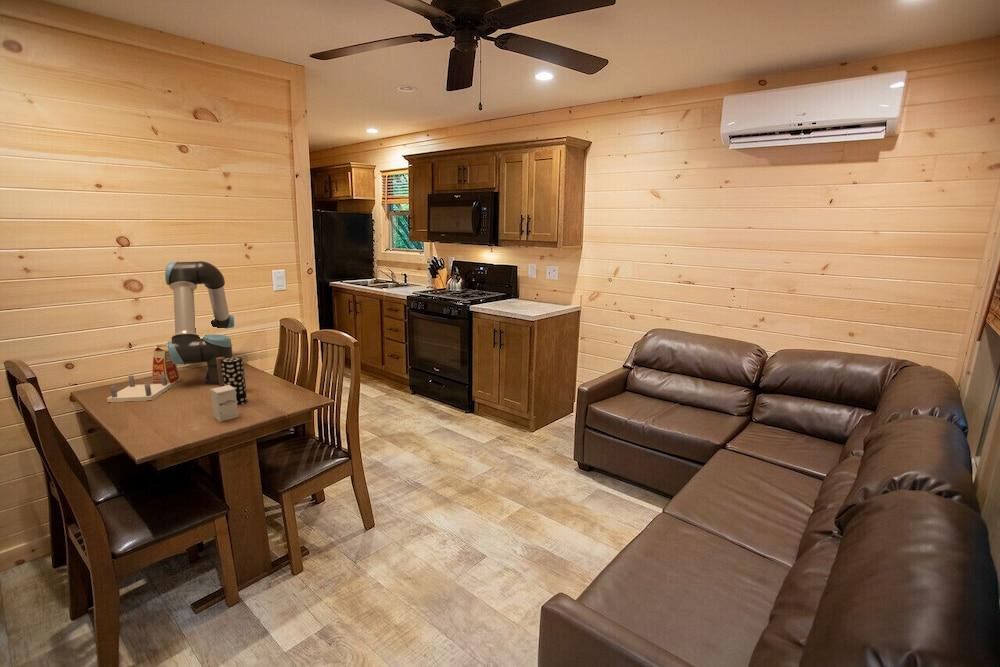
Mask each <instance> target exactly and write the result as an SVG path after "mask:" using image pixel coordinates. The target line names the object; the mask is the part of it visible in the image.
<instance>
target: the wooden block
mask: <svg viewBox="0 0 1000 667" xmlns="http://www.w3.org/2000/svg"><path fill="white" fill-rule="evenodd" d="M222 359H225V357H218V358H216V363H217V370H218V378H219V385H218V386H219V387H222V386H224V385H223V377H222V370H221V362H220V361H221V360H222ZM243 372H244V380H245V381H246V374H245V368H244V365H243ZM245 388H246V389H247V385H246V382H245Z"/></svg>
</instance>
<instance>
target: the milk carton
mask: <svg viewBox="0 0 1000 667" xmlns="http://www.w3.org/2000/svg"><path fill="white" fill-rule="evenodd" d="M152 358H153V359H152V372H151V373H152V374H151V384H162V381H161V375H163V374H166V380H167V384H169V383H171V384H172V383H174V382H176V381H178V380H180V381H181V377H180V372H179V369H178V365H176V364H174V363H173V362H172V360H171V358H170V355H169V351H168V344H163V345H162V344H161V345H159V344H157V345H156V348H155V349H154V350H153V357H152ZM178 382H179V381H178ZM176 383H177V382H176ZM174 384H175V383H174ZM172 385H173V384H172Z"/></svg>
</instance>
